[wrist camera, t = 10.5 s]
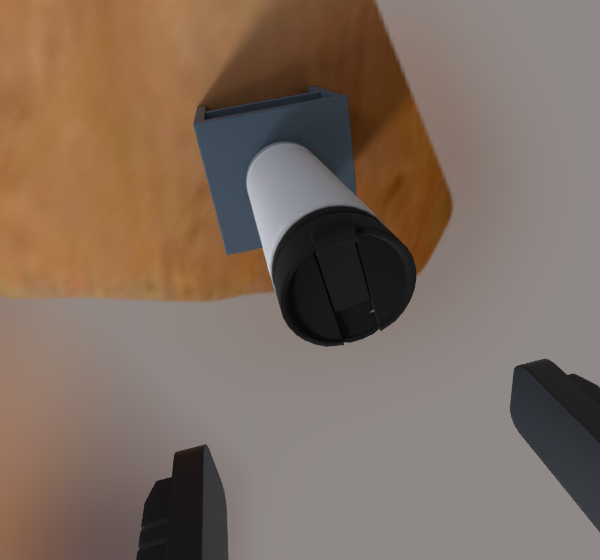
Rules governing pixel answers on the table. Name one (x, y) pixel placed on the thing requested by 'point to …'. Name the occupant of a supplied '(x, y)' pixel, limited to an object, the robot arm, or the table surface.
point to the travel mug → (325, 249)
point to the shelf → (258, 134)
